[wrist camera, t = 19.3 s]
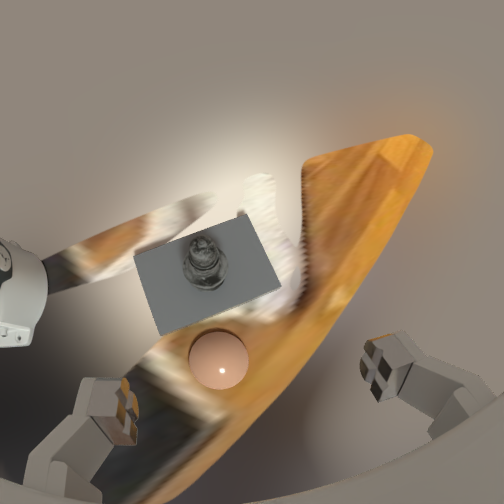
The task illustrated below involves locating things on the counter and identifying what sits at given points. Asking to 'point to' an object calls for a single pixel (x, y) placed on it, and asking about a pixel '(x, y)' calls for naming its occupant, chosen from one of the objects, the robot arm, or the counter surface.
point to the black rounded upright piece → (205, 264)
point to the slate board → (192, 300)
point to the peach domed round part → (218, 360)
